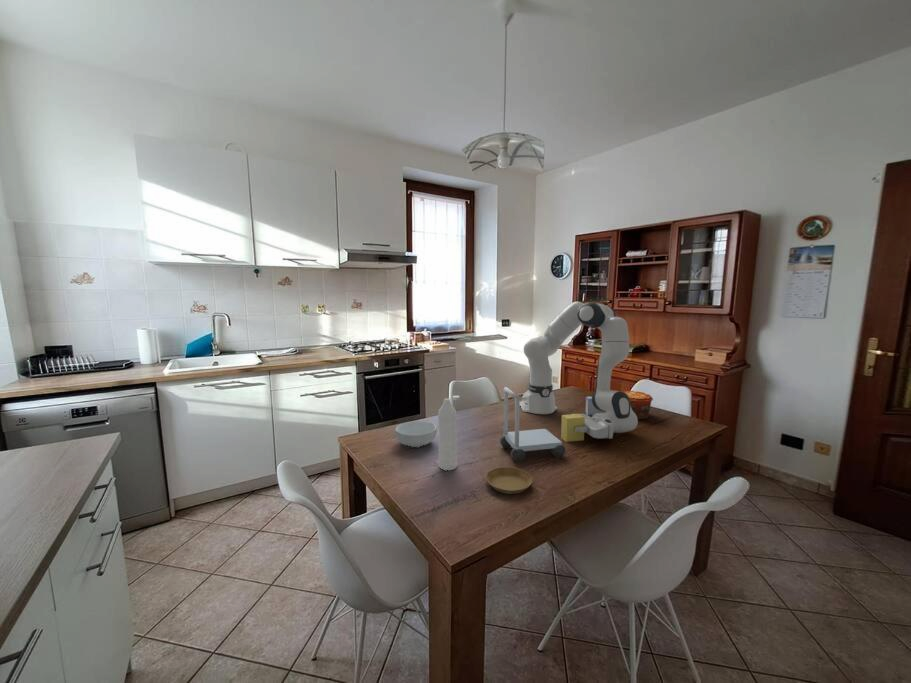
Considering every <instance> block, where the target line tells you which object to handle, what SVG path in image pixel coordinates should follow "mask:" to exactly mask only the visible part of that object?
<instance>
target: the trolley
mask: <svg viewBox="0 0 911 683" xmlns="http://www.w3.org/2000/svg"><path fill="white" fill-rule="evenodd" d="M509 396H511V397H512V398H513V399H514V431H509V428H508V426H509V425H508V424H509ZM520 401H521V396H519V395H518V394H517V393H515V392H514V391H512V390H511V389H510V388H508V387H507V386H504V388H503V435H502V436H501V437H500V440H499V442H500V445H501V446H502V447H503V448H504V449H506V448H508V449H510V448H512V449H511V451H510V456H511V459H513V461H514V462H516V463H520V462H522V461H524V460H525V458H526V452H529V451H531V452H532V451H538V450H549V449H550V453H551V455H553V456H554V457H555V458H558V459H560V458H562V457H564V456H565V454H566V448H565V446H564V445H563V441H562V440H560V439H559V438H557V436H555V435H553V434H552V433H551V432H550V431H549V430H547V429H546V428H538V429H537V428H536V429H528V430H520V410H521V409H520V408H521V407H520Z"/></svg>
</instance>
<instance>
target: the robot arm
mask: <svg viewBox="0 0 911 683" xmlns="http://www.w3.org/2000/svg"><path fill="white" fill-rule="evenodd" d="M581 325H584V326H586V327H591V328H595V329H599V330H600V332H601V351H600V356H599V358H598V362H597V368H596V377H595V386H594V390H593V393H592V395H591V397H592V403H593V406H594V407H595V408H596V409H597V410H599V411H604V413H598V414H594V415H587V414H586V413H579V414H580V415H582V416H584V417H585V424H584V426H583V427H578V426H574V430H575V431H576V432H578V431H580V432H584V433H586V434H588V435H589V436H590V437H592V438H593V439H597V440H599V439H613V438H614V437H613V436H614V433H616V434H619V433H627V432H631V431H633V430H634V429H636V427H637V426H638V424H639V423H638V422H639V419H637V416H636V414H635V413H634V412H633V411H632V408H631V406H630V398H629V396H628V395H627V394H626V393H624V392H625V391H623V390H622V391H623V392H622V391H620V390H612V389H611V379H612V371H613V369H614V368H615V367H616V366H618V365H619V364H620V363H622V362H623V361H625V360H626V359H627V357H628V356H629V352H630V333H629V327H628V323H627V320H626V319H624V318H623V317H620V316H617V313H616V311H615V309H614V308H613V307H611V306H609V305H605V304H603V303H599V302H598V303H597V302H592V301H590V302H585V303H583V302H581V301H578V300H577V301H573V302H571V303H570V304H569V305H567V306H566V307H565V308H564V309H563V310H562V311H561V312H560V313H558V314H557V316H556V317H555V318H554V319H553V320H552V321H551V322H550V323H549V324H548V326H547V328H546V330H545V331H544V333H543V334H541V335H540V336H537V337H534V338H531V339H529V340H528V341H527V342H526V343H525V344H524V346H523V353H524V355H525V356H526V358H527V360H528V364H529V383H528V390H526V391H525V392H524V393H523V395H522V396H521V400H520V406H521V407H520V408H521V410H522V412H525V413H530V414H531V413H532V414H537V415H549V414H552V413H555V411H556V410H558V407H557V406H556V399H555V398H556V397H555V393H554V392H553V390H554V389H553V388H554V386H553V369H552V367H551V366H550V361H549V357H551V356H553V355H554V354H556V352H557V351H558V350H559V349H560V347H561V346H562V345H563V344H564V342H565V341H566V340H567V339H568V338H569V337H570V336H571V335H572V334H573V333H574V332H575V331H577V330H578V328H579V327H580V326H581Z"/></svg>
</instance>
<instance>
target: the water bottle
mask: <svg viewBox="0 0 911 683" xmlns="http://www.w3.org/2000/svg"><path fill="white" fill-rule="evenodd" d="M452 400H454V401H458V400H461V399H460V395H453V396H452ZM452 400H451V398H450V397H448V398H444V399H443V401H442V402H443V403H442V405H441V407H440V408H439V409H438V413H437V416H438V417H437V419H438V420H437V421H438V422H437V423H438V426H437V427H438V431H437V432H438V434H437V435H438V468H439V467H440V468H441V469H440V468H439V469H440V470H442V469H443V470H442V471H447V470H448V471H452V470H455V469H457V466H458V460H457V459H458V455H457V453H458V446H457V445H458V441H457V437H458V436H457V435H458V434H457V430H458V428H457V417H458V416H457V415H458V414H457V413H458V412H457V411H456V410H457V409H455V407H454V405H453V404H452Z"/></svg>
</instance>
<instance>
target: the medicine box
mask: <svg viewBox="0 0 911 683" xmlns="http://www.w3.org/2000/svg"><path fill="white" fill-rule="evenodd" d="M598 413H605V411H599V410H597V409H596V408H595V407H594V406H593V403H592V396H586V397H585V414H586V415H588V416H593V415H594V414H598Z"/></svg>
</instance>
